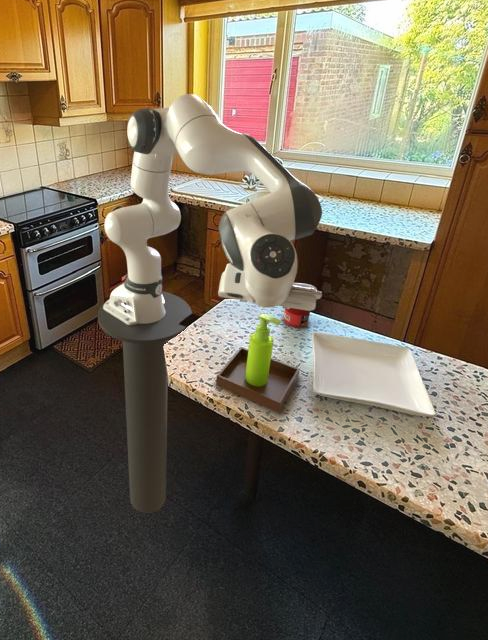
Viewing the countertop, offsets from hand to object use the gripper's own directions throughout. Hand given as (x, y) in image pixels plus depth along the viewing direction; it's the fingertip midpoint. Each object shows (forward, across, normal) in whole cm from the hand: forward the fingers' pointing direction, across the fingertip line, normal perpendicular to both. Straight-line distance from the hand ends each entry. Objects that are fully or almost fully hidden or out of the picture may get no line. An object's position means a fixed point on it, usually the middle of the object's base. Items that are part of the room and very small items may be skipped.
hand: (264, 301), depth 91 cm
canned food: (+47, -11, -7) cm, 49 cm away
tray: (+23, -1, +16) cm, 28 cm away
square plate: (+30, -29, +9) cm, 43 cm away
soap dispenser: (+23, -1, +16) cm, 28 cm away
